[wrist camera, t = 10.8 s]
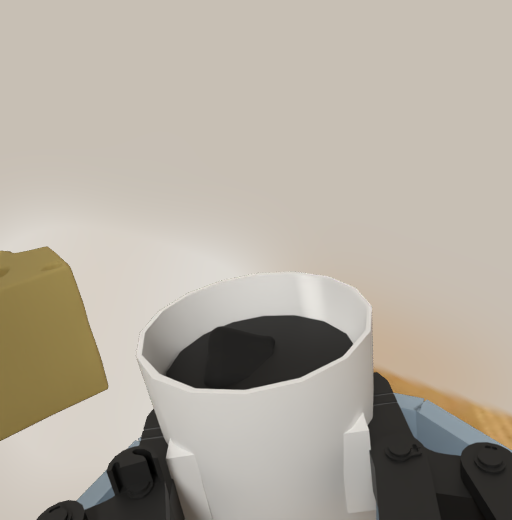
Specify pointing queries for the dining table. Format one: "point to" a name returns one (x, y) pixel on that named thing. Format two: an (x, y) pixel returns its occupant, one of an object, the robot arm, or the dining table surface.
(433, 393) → the dining table surface
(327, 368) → the white coffee cup
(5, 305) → the cheese
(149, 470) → the robot arm
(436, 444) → the blue round tray
